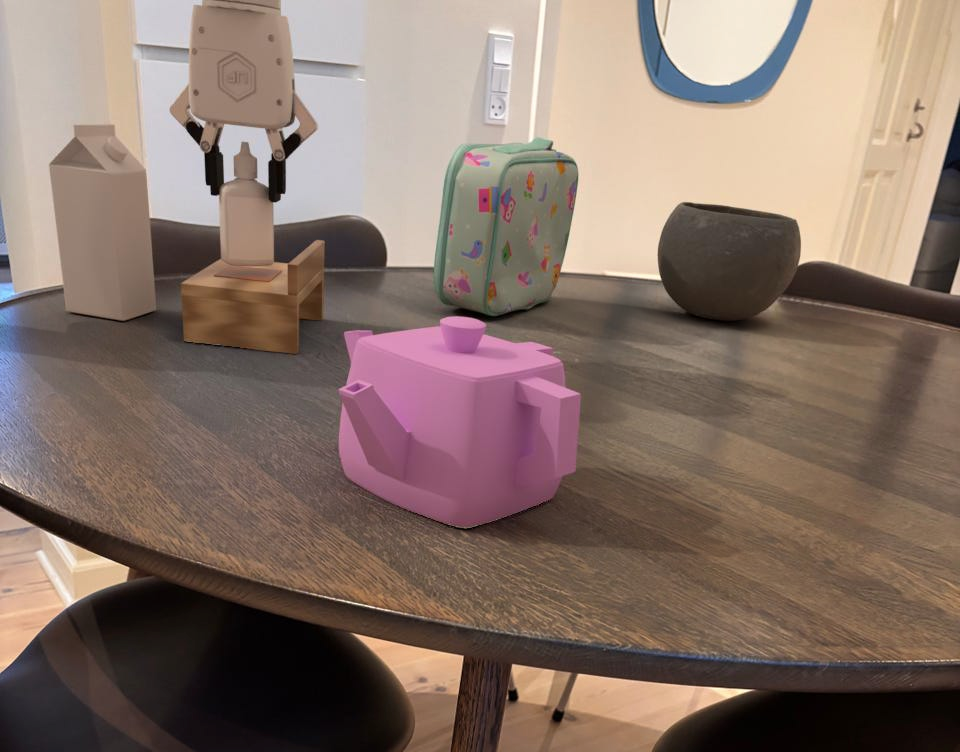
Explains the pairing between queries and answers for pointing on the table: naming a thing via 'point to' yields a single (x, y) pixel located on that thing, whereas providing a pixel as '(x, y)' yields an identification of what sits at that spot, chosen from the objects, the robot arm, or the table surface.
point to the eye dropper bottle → (246, 215)
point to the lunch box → (504, 225)
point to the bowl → (727, 259)
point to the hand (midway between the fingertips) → (246, 195)
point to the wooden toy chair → (255, 302)
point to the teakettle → (456, 421)
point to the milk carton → (103, 226)
